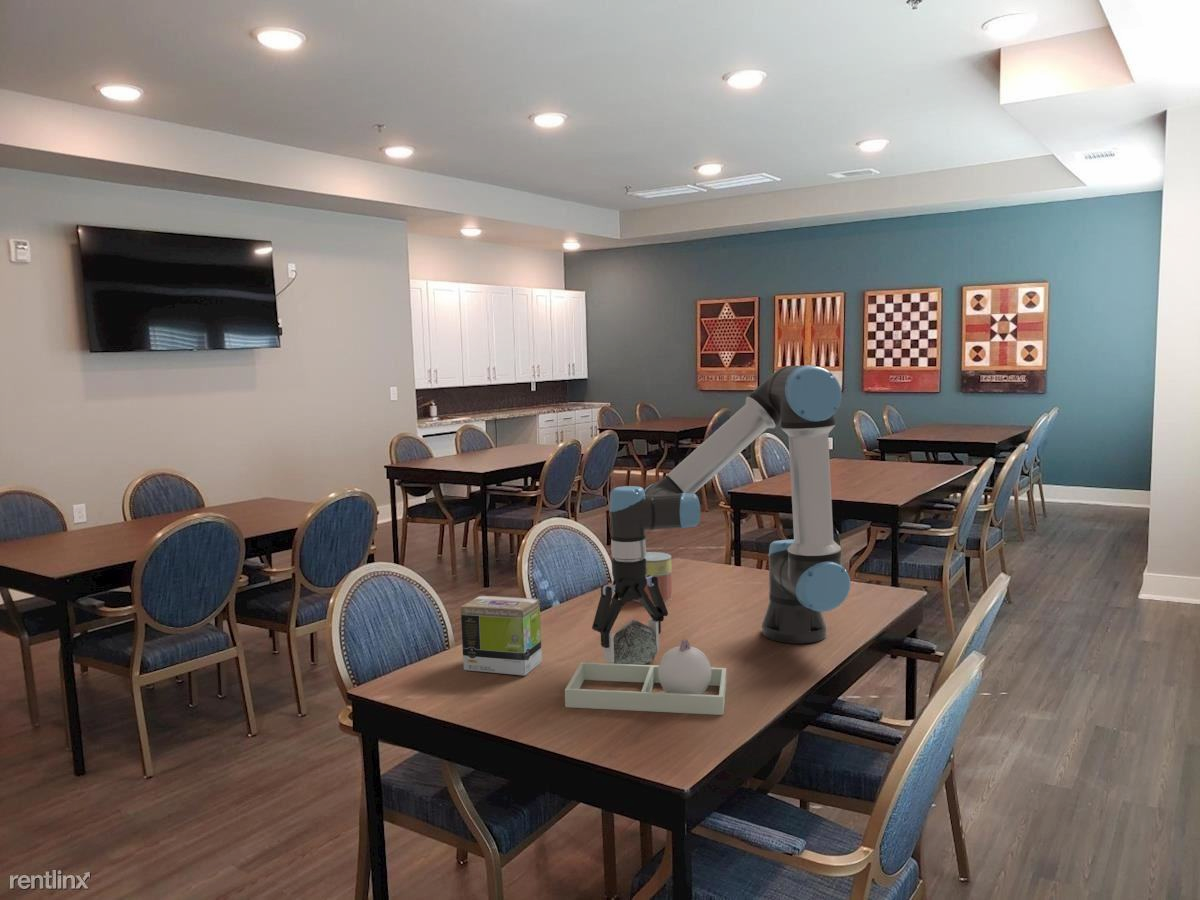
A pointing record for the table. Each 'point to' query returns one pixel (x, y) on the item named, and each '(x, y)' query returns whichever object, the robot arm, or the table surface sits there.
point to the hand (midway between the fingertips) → (632, 655)
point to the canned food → (659, 573)
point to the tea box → (501, 635)
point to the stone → (634, 644)
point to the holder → (645, 697)
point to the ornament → (684, 670)
